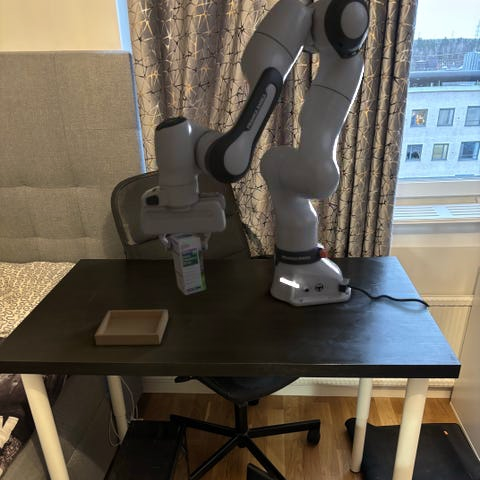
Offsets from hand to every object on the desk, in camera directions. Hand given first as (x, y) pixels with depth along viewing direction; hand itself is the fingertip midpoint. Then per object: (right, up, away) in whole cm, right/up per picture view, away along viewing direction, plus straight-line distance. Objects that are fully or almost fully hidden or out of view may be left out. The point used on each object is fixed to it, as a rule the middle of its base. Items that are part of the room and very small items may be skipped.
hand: (186, 249), depth 122 cm
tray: (-14, -20, +4) cm, 25 cm away
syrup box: (+1, -9, +6) cm, 11 cm away
